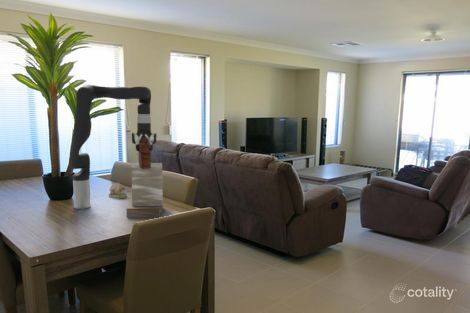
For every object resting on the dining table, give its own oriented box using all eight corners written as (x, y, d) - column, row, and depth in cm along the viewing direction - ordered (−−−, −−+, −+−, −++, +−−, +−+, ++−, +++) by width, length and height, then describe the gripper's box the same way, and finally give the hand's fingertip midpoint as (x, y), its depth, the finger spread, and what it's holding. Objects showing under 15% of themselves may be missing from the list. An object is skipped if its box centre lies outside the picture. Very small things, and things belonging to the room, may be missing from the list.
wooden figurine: (152, 169, 205) (152, 137, 203) (140, 169, 203) (140, 137, 200) (148, 166, 216) (148, 136, 213) (137, 166, 213) (137, 136, 211)
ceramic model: (105, 196, 249) (104, 182, 248) (119, 193, 258) (119, 179, 256) (117, 199, 240) (116, 185, 239) (131, 196, 249) (130, 182, 248)
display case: (132, 208, 220) (131, 163, 216) (162, 208, 222) (162, 163, 218) (126, 217, 203) (125, 168, 199) (159, 217, 204) (158, 168, 200)
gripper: (129, 122, 201) (130, 151, 203) (156, 122, 202) (156, 152, 205) (132, 121, 209) (132, 150, 211) (157, 122, 210) (157, 150, 212)
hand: (144, 151), depth 208 cm, fingers closed on wooden figurine, 7 cm apart
